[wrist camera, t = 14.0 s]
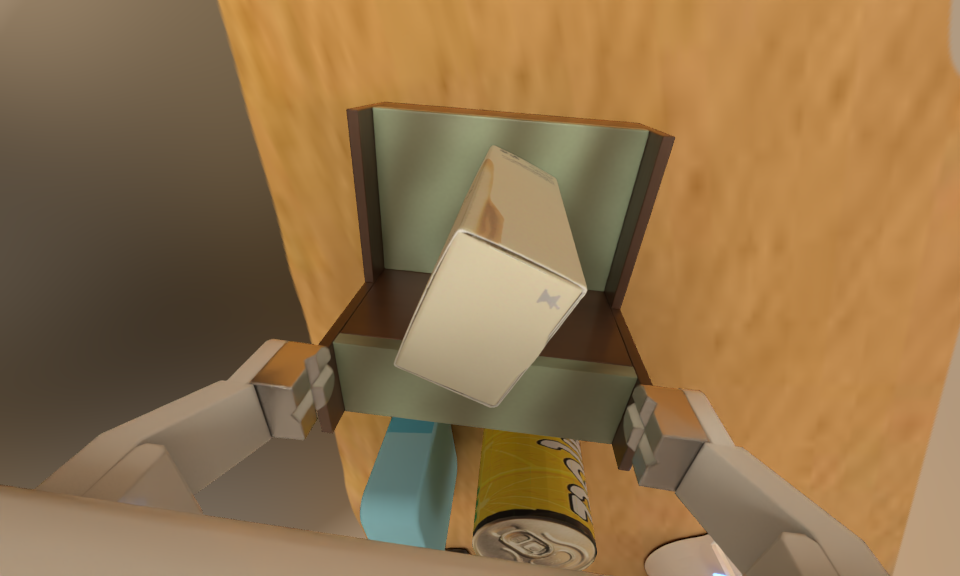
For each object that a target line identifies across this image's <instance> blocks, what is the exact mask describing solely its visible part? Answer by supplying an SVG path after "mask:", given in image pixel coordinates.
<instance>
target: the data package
mask: <svg viewBox="0 0 960 576" xmlns="http://www.w3.org/2000/svg"><path fill="white" fill-rule="evenodd" d="M456 476H457V456H456V451H455V445H454V440H453V434H452V429H451V424H446V423H438V422H430V421H422V420H414V419H406V418H398V417H392V419H391V421H390V424H389V427H388V429H387V432H386V435H385V437H384V440H383V443H382V445H381V448H380V451H379V453H378V456H377V459H376V461H375V464H374V467H373V469H372V472H371V475H370V477H369V480H368V483H367V485H366V488H365V490H364V493H363V497H362V501H361V507H360V520H361V524H362V526H363V528H364V530H365V533H366V535H367V537H368V539H369V540H376V541H383V542H390V543H396V544H403V545H410V546H417V547H423V548H430V549H437V550H443V551H445V545H446V539H447V533H448V526H449V520H450V514H451V508H452V501H453V495H454V489H455V482H456Z"/></svg>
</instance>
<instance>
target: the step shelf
mask: <svg viewBox="0 0 960 576" xmlns="http://www.w3.org/2000/svg"><path fill="white" fill-rule="evenodd" d="M347 119H348V128H349V137H350V147H351V156H352V165H353V174H354V183H355V192H356V202H357V211H358V220H359V229H360V238H361V247H362V257H363V266H364V275H365V283H364V285H363V286H362V287H361V289H360V290H359V291H358V293H357V294H356V295H355V297H354V298H353V299H352V301H351V302H350V303H349V305H348V306H347V307H346V309H345V310H344V311H343V313H342V314H341V315H340V317H339V318H338V319H337V321H336V322H335V323H334V325H333V326H332V327H331V329H330V330H329V331H328V333H327V334H326V335H325V337H324V338H323V339H322V341H321V342H320V343H319V345H321V346H326V347H327V348H329V351H330V355H331V359H330V360H329V362H328V363H327V364H328V365H329V366H330V367H331V368H332V369H333V371H334V377H335V379H334V388H333V391H332V394H331V397H330V399H329V401H328V402H327V404H326V405H325V406H324V407H322V408H320V409H319V410H317V412H318V416H319V420H320V424H321V429H322V432H327V433H333V432H334V430H335V428H336V426H337V424H338V422H339V420H340V418H341V417H342V415H343V413H344V411H350V412H358V413H366V414H374V415H382V416H390V417H398V418H406V419H414V420H422V421H430V422H438V423H446V424H454V425H462V426H470V427H478V428H486V429H494V430H502V431H510V432H518V433H526V434H534V435H542V436H550V437H558V438H566V439H574V440H582V441H590V442H598V443H606V444H612V446H613V450H614V454H615V458H616V462H617V466H618V469H619V470H625V471H630V469H631V467H632V461H631V460H632V458H633V455H634V453H635V452H634V451H633V450H632V449H631V448H630V447H629V446H628V445H627V443H626V440H625V436H624V429H623V424H624V415H625V412H626V409H627V407H628V406H630V405H631V404H633V403H634V399H633V396H632V394H633V391H634V389H635V387H636V386H637V385H638V384H642V385H651V386H653V385H652V383H651V380H650V378H649V376H648V374H647V371H646V369H645V367H644V364H643V362H642V360H641V357H640V355H639V353H638V350H637V348H636V346H635V343H634V341H633V339H632V336H631V334H630V332H629V329H628V327H627V325H626V323H625V320H624V318H623V316H622V313H621V311H620V308H621V305H622V302H623V299H624V296H625V293H626V290H627V287H628V283H629V280H630V277H631V274H632V271H633V268H634V265H635V262H636V259H637V255H638V252H639V249H640V246H641V243H642V240H643V237H644V234H645V230H646V227H647V224H648V221H649V218H650V215H651V212H652V209H653V206H654V202H655V199H656V196H657V193H658V190H659V187H660V184H661V181H662V178H663V174H664V171H665V168H666V165H667V162H668V159H669V156H670V153H671V150H672V146H673V143H674V140H675V137H674V136H671V135H669V134H666V133H663V132H661V131H658V130H656V129H653V128H651V127H648V126H645V125H643V124H640V123H630V122H620V121H608V120H596V119H584V118H572V117H560V116H548V115H536V114H524V113H512V112H500V111H488V110H476V109H464V108H452V107H440V106H428V105H416V104H404V103H392V102H382V103H377V104H371V105H366V106H361V107H355V108H350V109H347ZM493 145H495V146H497V147H499V148H501V149H503V150H505V151H508V152H510V153H512V154H514V155H516V156H517V157H519V158H521V159H523V160H525V161H527V162H529V163H530V164H532V165H534V166H536V167H538V168H539V169H541V170H543V171H545V172H546V173H548V174H550V175H551V176H553V177H555V178H556V179H557V183H558V186H559V190H560V194H561V197H562V201H563V204H564V208H565V211H566V215H567V219H568V222H569V226H570V229H571V232H572V236H573V240H574V243H575V247H576V251H577V254H578V258H579V261H580V264H581V268H582V272H583V275H584V278H585V282H586V285H587V292H586V294H585V296H584V297H583V298H582V299H581V300H580V301H579V303H578V304H577V305H576V307H575V308H574V309H573V311H572V312H571V313H570V314H569V316H568V317H567V318H566V319H565V321H564V322H563V324H562V325H561V326H560V328H559V329H558V330H557V331H556V333H555V334H554V335H553V336H552V338H551V339H550V340H549V341H548V343H547V344H546V346H545V347H544V348H543V350H542V351H541V353H540V354H539V356H538V357H537V358H536V360H535V361H534V362H533V363H532V364H531V365H530V367H529V368H528V369H527V370H526V371H525V373H524V374H523V375H522V376H521V378H520V379H519V380H518V381H517V383H516V384H515V385H514V387H513V388H512V389H511V390H510V392H509V393H508V394H507V395H506V397H505V398H504V399H503V400H502V402H501V403H500V404H499V405H498V406H497V407H495V408H489V407H487V406H485V405H483V404H480V403H478V402H476V401H473V400H471V399H468V398H466V397H464V396H462V395H459V394H457V393H455V392H452V391H450V390H448V389H445V388H443V387H441V386H438V385H436V384H434V383H432V382H429V381H427V380H425V379H422V378H420V377H418V376H416V375H414V374H412V373H409V372H407V371H404V370H402V369H399V368H397V367H395V366H394V360H395V358H396V355H397V353H398V351H399V348H400V346H401V343H402V340H403V338H404V336H405V333H406V331H407V329H408V326H409V324H410V321H411V319H412V317H413V314H414V312H415V310H416V308H417V305H418V303H419V301H420V299H421V296H422V294H423V292H424V290H425V287H426V285H427V283H428V281H429V278H430V276H431V274H432V272H433V270H434V267H435V265H436V263H437V261H438V258H439V256H440V254H441V252H442V249H443V247H444V245H445V243H446V240H447V238H448V236H449V234H450V231H451V229H452V227H453V224H454V222H455V220H456V218H457V215H458V213H459V211H460V209H461V206H462V204H463V202H464V199H465V197H466V195H467V193H468V191H469V189H470V186H471V184H472V182H473V180H474V178H475V176H476V174H477V172H478V170H479V168H480V166H481V164H482V162H483V160H484V158H485V156H486V155H487V153H488V151H489V149H490V147H491V146H493Z"/></svg>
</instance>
